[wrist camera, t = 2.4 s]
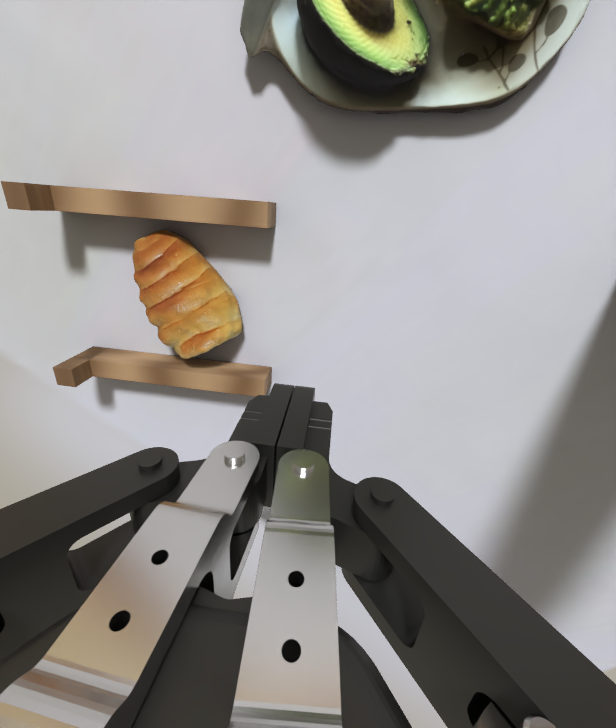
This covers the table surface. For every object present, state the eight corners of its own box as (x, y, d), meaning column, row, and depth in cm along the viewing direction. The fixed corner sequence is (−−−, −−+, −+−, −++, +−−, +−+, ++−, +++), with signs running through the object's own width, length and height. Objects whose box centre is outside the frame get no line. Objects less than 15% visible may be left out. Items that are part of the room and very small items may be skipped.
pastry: (123, 254, 26) (88, 260, 22) (192, 211, 24) (166, 211, 21) (191, 356, 29) (169, 375, 26) (257, 325, 27) (243, 341, 24)
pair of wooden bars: (276, 202, 23) (259, 201, 19) (271, 382, 29) (258, 410, 25) (58, 186, 24) (0, 181, 20) (96, 361, 30) (57, 384, 26)
